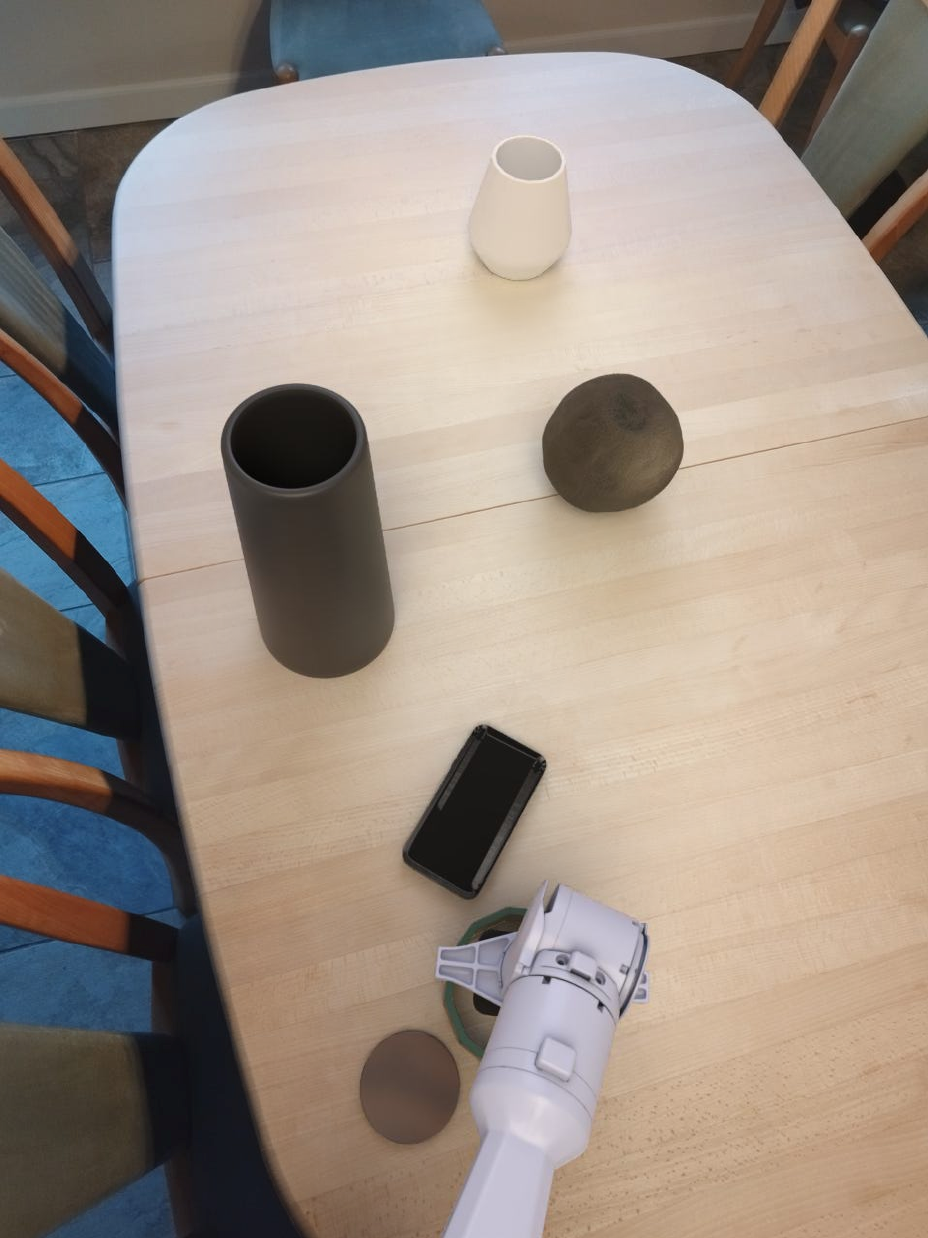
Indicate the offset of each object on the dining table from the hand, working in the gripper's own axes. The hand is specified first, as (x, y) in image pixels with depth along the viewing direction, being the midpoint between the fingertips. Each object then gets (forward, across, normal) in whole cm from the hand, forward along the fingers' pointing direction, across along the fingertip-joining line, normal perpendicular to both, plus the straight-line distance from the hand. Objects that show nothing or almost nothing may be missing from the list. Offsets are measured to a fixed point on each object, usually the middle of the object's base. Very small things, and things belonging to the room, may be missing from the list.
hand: (526, 985), depth 67 cm
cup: (+8, +7, -89) cm, 90 cm away
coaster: (+8, +8, +8) cm, 14 cm away
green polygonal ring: (+8, 0, 0) cm, 8 cm away
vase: (+8, +22, -33) cm, 41 cm away
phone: (+8, +5, -15) cm, 18 cm away
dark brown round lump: (+8, -5, -53) cm, 54 cm away
